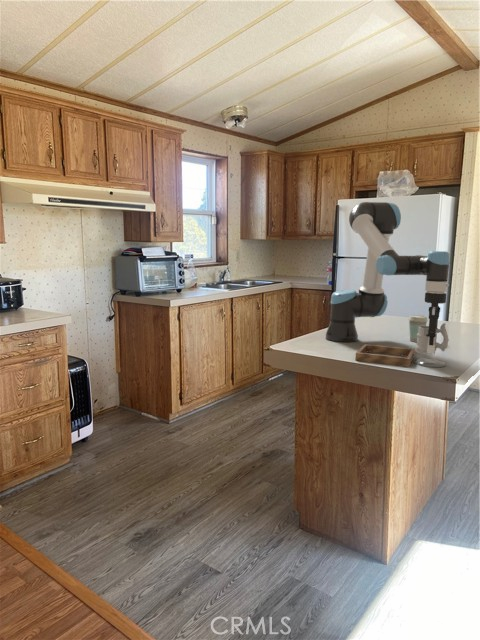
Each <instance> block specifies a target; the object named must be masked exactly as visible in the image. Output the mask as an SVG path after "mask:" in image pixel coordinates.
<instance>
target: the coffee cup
mask: <svg viewBox="0 0 480 640" xmlns="http://www.w3.org/2000/svg"><path fill="white" fill-rule="evenodd" d="M427 322H428V318H427V315H421V314H419V315H418V314H411V315H409V318H408V326H409V341H410V342H413V343H417V337H418V336H417V333H418V329H419V326H427Z"/></svg>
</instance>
